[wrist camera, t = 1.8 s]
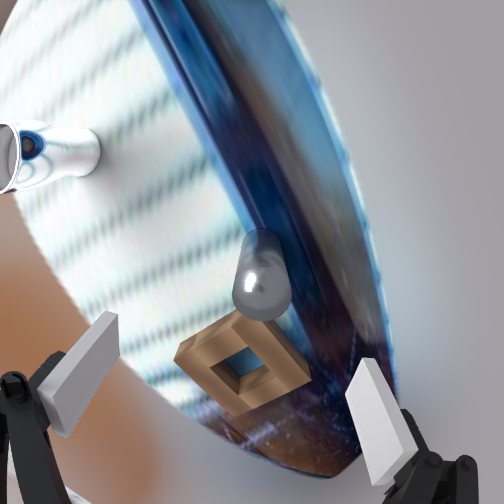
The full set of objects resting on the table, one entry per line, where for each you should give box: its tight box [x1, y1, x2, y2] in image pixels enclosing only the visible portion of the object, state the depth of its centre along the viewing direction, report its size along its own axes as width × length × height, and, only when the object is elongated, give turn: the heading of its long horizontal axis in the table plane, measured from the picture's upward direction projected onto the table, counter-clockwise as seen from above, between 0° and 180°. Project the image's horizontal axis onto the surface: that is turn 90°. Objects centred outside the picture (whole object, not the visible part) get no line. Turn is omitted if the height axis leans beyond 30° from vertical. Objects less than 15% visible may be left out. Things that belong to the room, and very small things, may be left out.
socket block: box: [173, 309, 311, 417], centre depth 37 cm, size 12×12×4 cm
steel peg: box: [232, 228, 292, 321], centre depth 28 cm, size 4×4×13 cm
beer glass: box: [0, 120, 101, 195], centre depth 24 cm, size 7×7×15 cm
